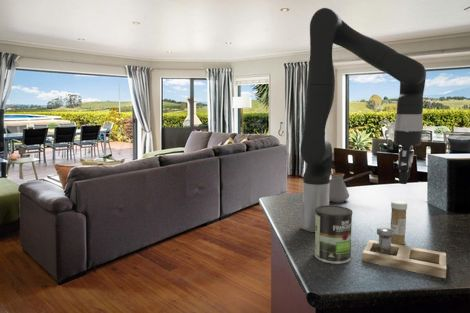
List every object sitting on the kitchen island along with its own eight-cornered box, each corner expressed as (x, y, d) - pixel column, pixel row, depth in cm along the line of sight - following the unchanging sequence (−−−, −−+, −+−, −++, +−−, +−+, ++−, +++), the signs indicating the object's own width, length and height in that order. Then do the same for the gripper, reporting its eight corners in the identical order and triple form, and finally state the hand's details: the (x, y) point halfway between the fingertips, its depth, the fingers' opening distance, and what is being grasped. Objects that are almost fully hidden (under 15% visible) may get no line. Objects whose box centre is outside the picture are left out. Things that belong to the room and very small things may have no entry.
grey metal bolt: (374, 258, 95) (375, 231, 94) (377, 253, 98) (378, 226, 97) (391, 262, 92) (392, 233, 91) (393, 256, 96) (394, 229, 95)
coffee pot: (323, 202, 155) (323, 171, 153) (325, 196, 165) (325, 167, 164) (372, 206, 148) (373, 173, 146) (370, 199, 159) (371, 169, 157)
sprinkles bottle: (386, 240, 108) (388, 200, 106) (399, 239, 108) (401, 199, 107) (394, 245, 103) (396, 204, 102) (408, 244, 104) (410, 203, 102)
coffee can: (358, 259, 94) (360, 212, 92) (330, 267, 90) (331, 217, 88) (334, 247, 103) (335, 203, 102) (307, 253, 99) (307, 207, 97)
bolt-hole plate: (362, 260, 93) (362, 252, 93) (369, 247, 102) (369, 239, 102) (445, 278, 83) (446, 269, 82) (445, 261, 92) (445, 253, 92)
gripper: (397, 127, 109) (393, 176, 111) (391, 130, 97) (387, 184, 99) (423, 128, 105) (419, 178, 107) (420, 130, 93) (416, 187, 95)
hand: (404, 181), depth 103 cm, fingers open, 8 cm apart
